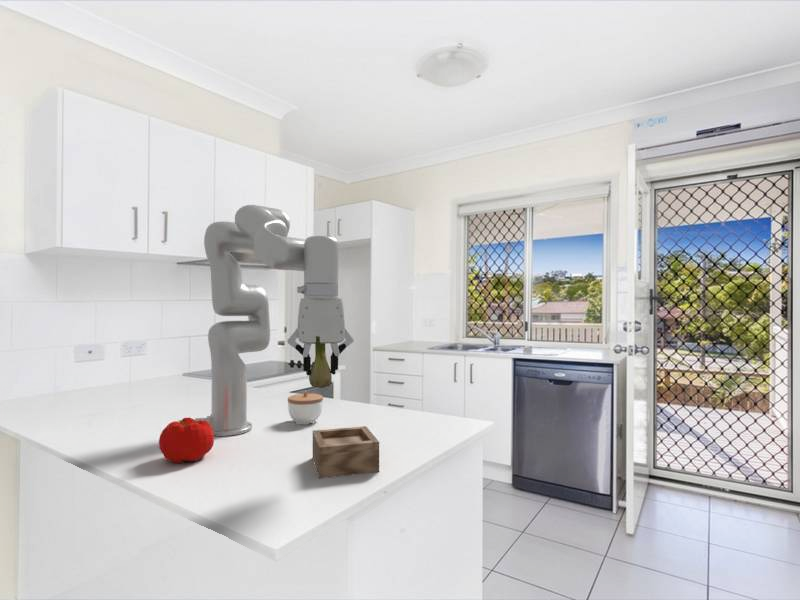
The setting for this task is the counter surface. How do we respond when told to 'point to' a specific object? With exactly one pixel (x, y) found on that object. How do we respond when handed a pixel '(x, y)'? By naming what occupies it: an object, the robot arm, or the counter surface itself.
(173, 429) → the tomato
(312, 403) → the lidded jar
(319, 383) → the fennel bulb
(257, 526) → the counter surface
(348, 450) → the open walnut box
